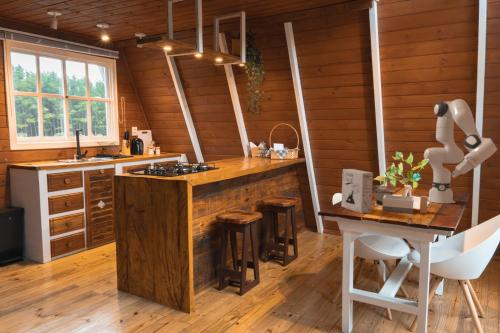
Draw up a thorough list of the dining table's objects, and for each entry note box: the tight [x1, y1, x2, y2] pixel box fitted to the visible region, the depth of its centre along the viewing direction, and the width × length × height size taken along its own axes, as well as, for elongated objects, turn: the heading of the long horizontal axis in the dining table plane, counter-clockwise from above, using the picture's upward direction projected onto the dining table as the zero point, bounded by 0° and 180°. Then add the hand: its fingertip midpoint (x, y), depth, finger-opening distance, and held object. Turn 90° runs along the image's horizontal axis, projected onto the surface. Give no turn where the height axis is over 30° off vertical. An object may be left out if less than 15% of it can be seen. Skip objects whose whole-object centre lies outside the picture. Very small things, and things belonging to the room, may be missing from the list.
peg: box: [419, 195, 429, 214], centre depth 248 cm, size 4×4×10 cm
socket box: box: [381, 194, 414, 214], centre depth 254 cm, size 14×18×8 cm
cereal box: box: [341, 168, 374, 214], centre depth 252 cm, size 22×8×25 cm, turn 21°
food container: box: [374, 188, 395, 206], centre depth 271 cm, size 12×6×10 cm, turn 74°
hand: (452, 176), depth 240 cm, fingers open, 8 cm apart
